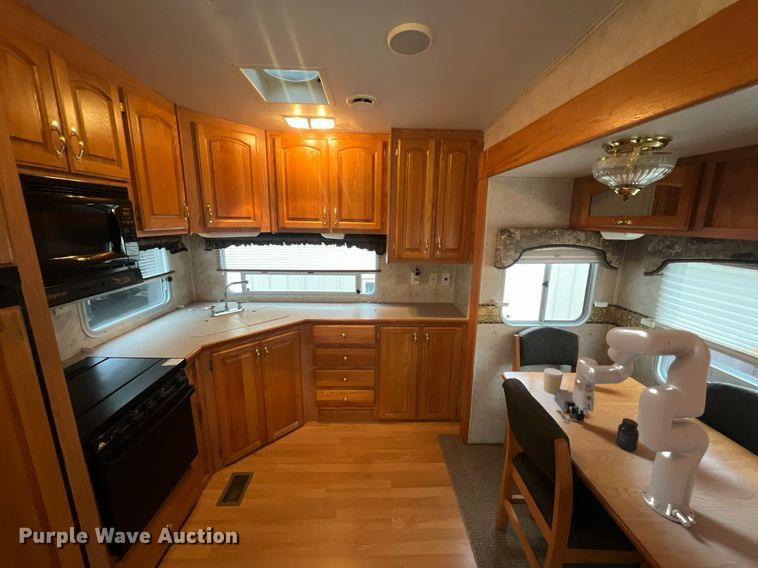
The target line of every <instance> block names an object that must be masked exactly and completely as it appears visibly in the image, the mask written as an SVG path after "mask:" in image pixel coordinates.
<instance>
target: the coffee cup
mask: <svg viewBox="0 0 758 568" xmlns="http://www.w3.org/2000/svg"><path fill="white" fill-rule="evenodd" d="M563 377H564V374H563V371H561V370H559V369H556V368H552V367H545V368H544V370H543V391H544V392H546V393H548V394H551V395H555V392H556V389H559V390H561V386H562V382H563V381H562V380H563Z"/></svg>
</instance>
